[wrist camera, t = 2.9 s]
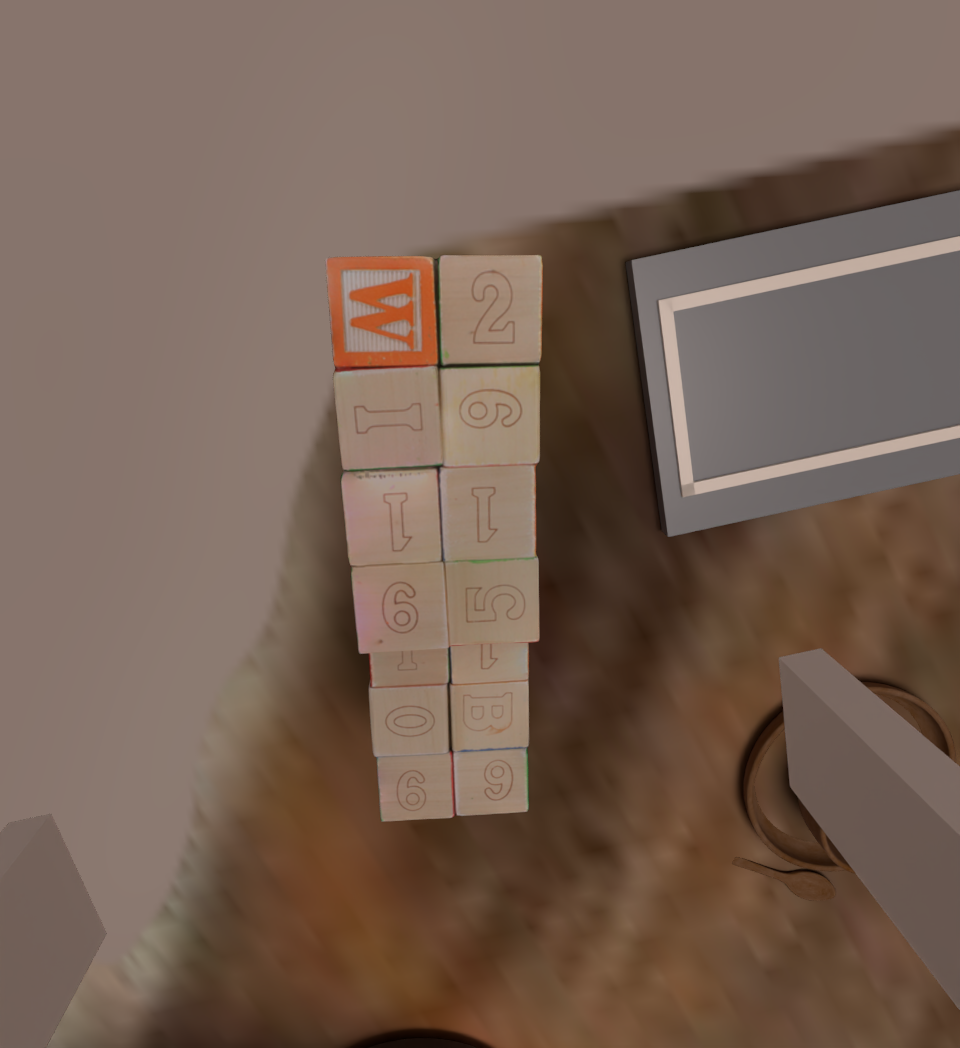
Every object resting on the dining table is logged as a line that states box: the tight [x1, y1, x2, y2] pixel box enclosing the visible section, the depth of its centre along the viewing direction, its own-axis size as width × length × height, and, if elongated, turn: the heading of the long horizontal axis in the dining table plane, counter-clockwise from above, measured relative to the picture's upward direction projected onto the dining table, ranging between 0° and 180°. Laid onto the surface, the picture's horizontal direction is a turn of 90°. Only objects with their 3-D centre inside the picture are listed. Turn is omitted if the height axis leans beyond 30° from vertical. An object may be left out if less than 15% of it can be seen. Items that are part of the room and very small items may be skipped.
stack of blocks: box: [325, 255, 543, 821], centre depth 28 cm, size 21×6×12 cm, turn 1°
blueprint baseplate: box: [625, 190, 960, 537], centre depth 33 cm, size 26×13×1 cm, turn 102°
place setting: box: [732, 682, 956, 901], centre depth 38 cm, size 18×20×6 cm
